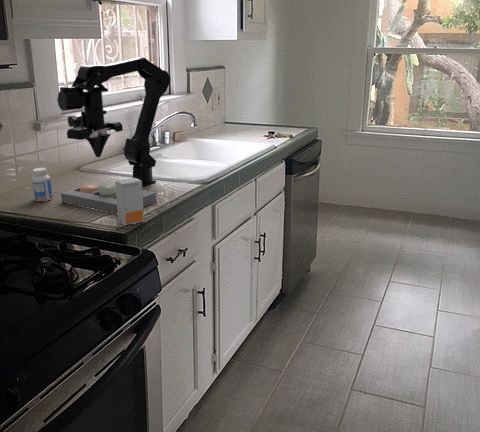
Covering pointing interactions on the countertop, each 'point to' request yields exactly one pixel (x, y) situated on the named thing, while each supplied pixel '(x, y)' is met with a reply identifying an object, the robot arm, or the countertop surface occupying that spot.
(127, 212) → the skincare box
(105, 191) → the button sage
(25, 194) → the countertop surface
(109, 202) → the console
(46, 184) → the pill bottle
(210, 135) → the countertop surface
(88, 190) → the button terracotta
